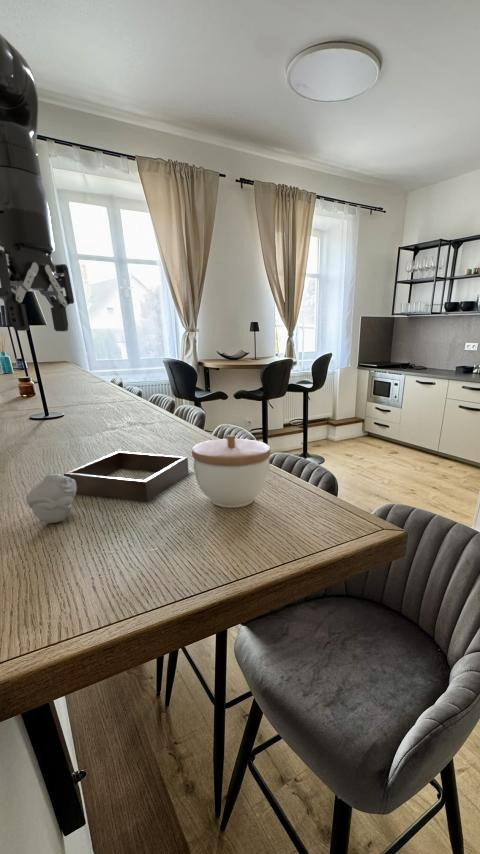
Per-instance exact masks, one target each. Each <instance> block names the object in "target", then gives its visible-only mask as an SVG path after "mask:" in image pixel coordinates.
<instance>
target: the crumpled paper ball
mask: <svg viewBox="0 0 480 854" xmlns="http://www.w3.org/2000/svg"><path fill="white" fill-rule="evenodd" d="M76 491H77V487H76V481H75V480H74V479H72V478H70V477H65V476H64V474H62V473H50V474H49V473H48V474H47V475H45V476H44V477H43V479H42V480H41V481H39V482H38V483H37V484H36V485H35V486H33V487H32V488H31V489H30V491H29V492H28V493H27V494H26V496H25V501H26V504H27V506H28V507H29V509H32V512H33V514H34V515H35V517H36V518H37V519H38V520H39V521H42V522H44V523H47V524H56V523H60V522H62V521H63V520H65V519H67V518H68V516H69V515H70V513H71V511H72V509H73V508H72V504H73V503H74V498H76V495H77V494H76Z"/></svg>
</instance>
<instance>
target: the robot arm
mask: <svg viewBox="0 0 480 854" xmlns="http://www.w3.org/2000/svg"><path fill="white" fill-rule="evenodd" d="M38 123H39V95H38V89H37V84H36V81H35V77H34V74H33V72H32V69H31V67H30V65H29V64H28V61H27V60H26V58H25V57H24V56H23V55H22V54H21V53H20V52H19V50H17V49H16V47H15V46H13V45H12V44H11V43H10V42H9V41H8V39H6V38H5V37H4V36H3V34H2V33H0V247H1V248H2V249H0V299H1V300H2V301H3V302H4V303H5V304H6V307H7V312H8V316H9V317H8V318H9V321H10V324H11V326H12V328H13V330H14V331H16V332H18V331H19V332H21V331H22V332H27V331H29V330H30V327H29V321H28V316H27V311H26V306H25V304H24V303H22V302H23V301H24V298H25V296H26V293H27V292H29V291H30V290H33V291H38V292H39V293H40V294H41V295H42V296H44V297H45V298H46V300H47V302H48V303H49V305H50V306H51V307H50V312H51V320H52V324H53V330H54V331H55V332H68V331H69V322H68V315H67V314H68V313H67V307H68V305H71V304H72V305H73V304H74V303H75V298H74V293H73V288H72V282H71V277H70V272H69V267H68V265H67V264H65V263H57V264H56V263H54V262H53V260H52V253H54V251H55V250H56V247H55V242H54V235H53V228H52V221H51V216H50V210H49V204H48V198H47V195H46V194H47V193H46V191H45V187H44V183H43V180H42V179H43V178H42V172H41V166H40V160H39V159H40V158H39V154H38V149H37V137H38ZM63 289H64V291H63ZM64 292H65V295H64Z"/></svg>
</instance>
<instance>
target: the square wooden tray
mask: <svg viewBox="0 0 480 854" xmlns="http://www.w3.org/2000/svg"><path fill="white" fill-rule="evenodd" d="M119 470H130V471H142V472H153V473H154V474H152V475H151V476H149V477H147V478H145V479H144V480H143V479H136V478H135V479H134V478H126V477H117V476H115V477H114V476H109V475H111V474H113V473H115V472H117V471H119ZM189 474H190V473H189V458H188V457H187V456H180V455H179V456H178V455H177V456H176V455H167V454H166V455H165V454H155V453H143V452H131V451H119V450H118V451H115V452H112V453H110V454H108V455H105V456H103V457H100V458H98V459H95V460H93V461H90V462H88V463H86V464H84V465H80V466H78V467H76V468H73V469H72V470H69V471H67V472H64V473H63V476H65V477H70V478H72V479H74V480H75V481H76V487H77V491H76V495H77V494H78V495H85V496H93V497H101V498H111V499H119V500H121V499H122V500H129V501H138V502H146V503H148V502H150V501H151V500H153V499H154V498H155V497H157V496H159V495H160V494H162V493H163V492H164V491H166V490H168V489H169V488H170V487H172V486H173V485H175V484H176V483H178V482H179V481H180V480H182V479H184V478H185V477H187V476H188V475H189Z"/></svg>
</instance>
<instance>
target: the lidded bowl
mask: <svg viewBox="0 0 480 854" xmlns="http://www.w3.org/2000/svg"><path fill="white" fill-rule="evenodd" d="M226 437H227V438H217V439H210V440H205V441H203V442H199V443H197V444H195V445H193V447H192V448H191V456H192V461H193V471H194V475H195V479H196V482H197V485H198V487H199V489H200V490H201V492H202V494H204V496H206V497H207V498H208V499H209V500H211V503H212V504H213V505H215V506H218V507H220V508H228V509H234V508H242V507H246V506H249V505H251V504H252V503H254V501H255V499H256V498H257V497H258V496H259V495H260V494H261V493H262V492H263V490H264V488H265V486H266V484H267V482H268V477H269V472H270V456H271V447H270V446H269V444H267V443H265V442H263V441H259V440H254V439H246V438H236V435H234V434H228V435H227V436H226Z"/></svg>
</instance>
